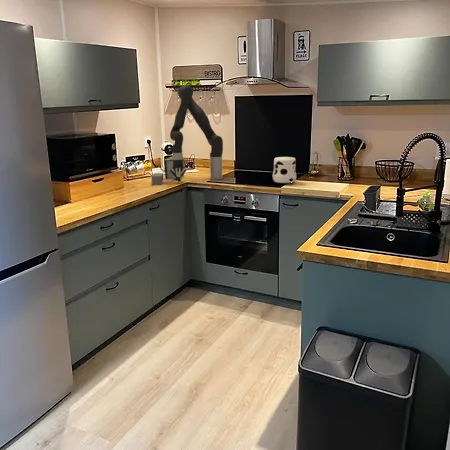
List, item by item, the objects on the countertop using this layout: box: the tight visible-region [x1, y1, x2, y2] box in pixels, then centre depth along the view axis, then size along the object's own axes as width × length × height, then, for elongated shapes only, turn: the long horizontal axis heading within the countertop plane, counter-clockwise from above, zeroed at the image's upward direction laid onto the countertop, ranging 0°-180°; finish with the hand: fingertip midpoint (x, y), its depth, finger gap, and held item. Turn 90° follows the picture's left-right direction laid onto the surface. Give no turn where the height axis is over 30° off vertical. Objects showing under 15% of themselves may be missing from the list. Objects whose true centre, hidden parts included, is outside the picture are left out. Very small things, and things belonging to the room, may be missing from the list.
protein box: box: [163, 156, 185, 181], centre depth 355 cm, size 10×15×16 cm
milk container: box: [272, 156, 297, 185], centre depth 329 cm, size 17×17×18 cm
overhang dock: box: [150, 172, 165, 186], centre depth 337 cm, size 7×12×6 cm, turn 0°
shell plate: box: [162, 178, 174, 185], centre depth 337 cm, size 13×8×2 cm, turn 89°
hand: (179, 181), depth 338 cm, fingers closed
